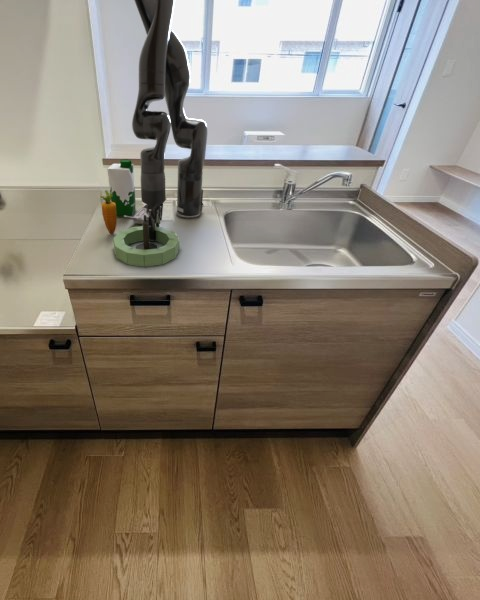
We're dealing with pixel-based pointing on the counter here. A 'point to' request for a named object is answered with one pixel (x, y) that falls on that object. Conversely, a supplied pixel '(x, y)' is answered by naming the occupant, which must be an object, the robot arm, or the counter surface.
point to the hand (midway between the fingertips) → (154, 237)
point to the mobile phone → (139, 215)
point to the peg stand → (146, 239)
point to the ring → (145, 256)
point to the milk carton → (122, 187)
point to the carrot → (109, 213)
